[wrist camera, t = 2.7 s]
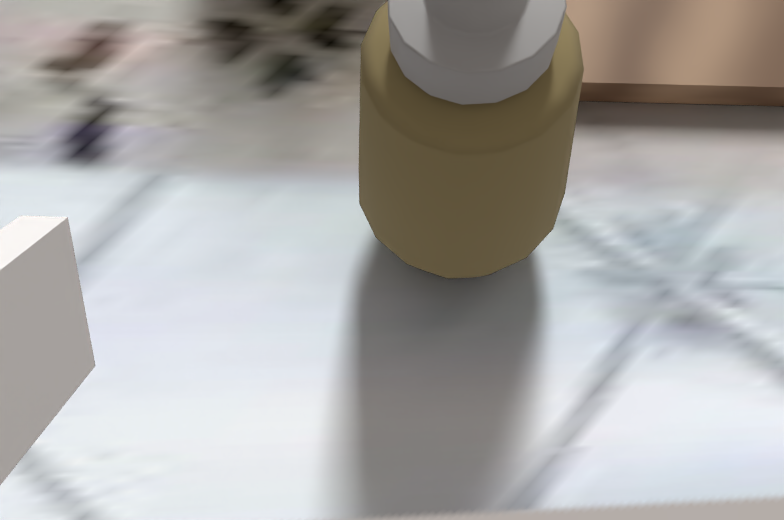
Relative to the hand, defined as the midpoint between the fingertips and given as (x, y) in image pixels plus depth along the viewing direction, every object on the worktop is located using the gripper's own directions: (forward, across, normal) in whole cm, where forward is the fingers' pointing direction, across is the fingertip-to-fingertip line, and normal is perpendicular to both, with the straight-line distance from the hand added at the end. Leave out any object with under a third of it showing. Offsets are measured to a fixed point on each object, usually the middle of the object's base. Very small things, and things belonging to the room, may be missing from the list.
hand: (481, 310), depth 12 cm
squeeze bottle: (+20, 0, -6) cm, 21 cm away
